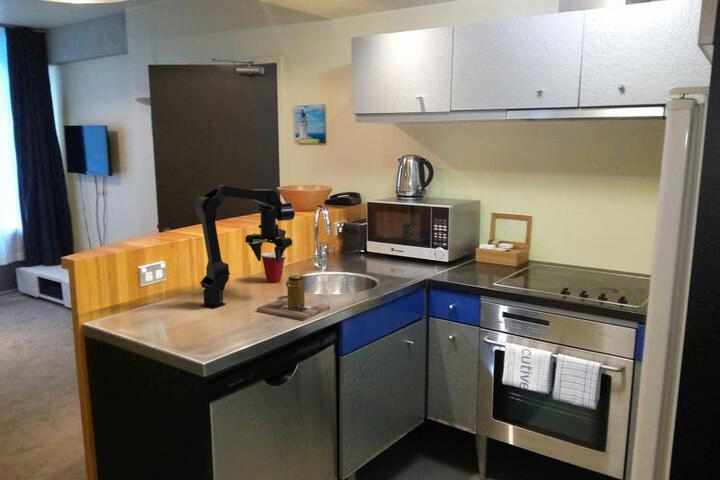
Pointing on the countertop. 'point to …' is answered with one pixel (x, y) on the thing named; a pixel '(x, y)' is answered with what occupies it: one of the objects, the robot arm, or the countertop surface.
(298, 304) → the condiment
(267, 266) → the plastic cup
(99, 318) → the countertop surface
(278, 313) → the brown frame
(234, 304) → the countertop surface
